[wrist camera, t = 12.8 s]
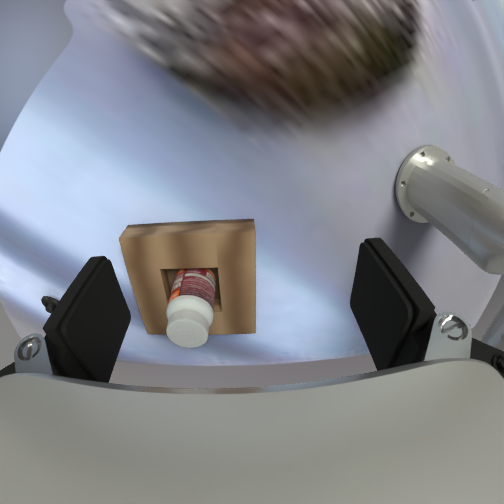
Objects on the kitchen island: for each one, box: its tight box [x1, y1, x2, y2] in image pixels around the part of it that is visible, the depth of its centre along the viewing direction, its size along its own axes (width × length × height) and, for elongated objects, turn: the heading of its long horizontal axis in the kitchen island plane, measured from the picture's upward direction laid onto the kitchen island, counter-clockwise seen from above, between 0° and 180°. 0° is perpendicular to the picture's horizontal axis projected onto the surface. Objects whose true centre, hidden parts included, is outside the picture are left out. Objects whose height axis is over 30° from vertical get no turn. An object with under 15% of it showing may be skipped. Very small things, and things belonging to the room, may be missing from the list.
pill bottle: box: [166, 268, 216, 348], centre depth 37 cm, size 6×6×11 cm
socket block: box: [119, 219, 256, 335], centre depth 41 cm, size 18×18×4 cm
